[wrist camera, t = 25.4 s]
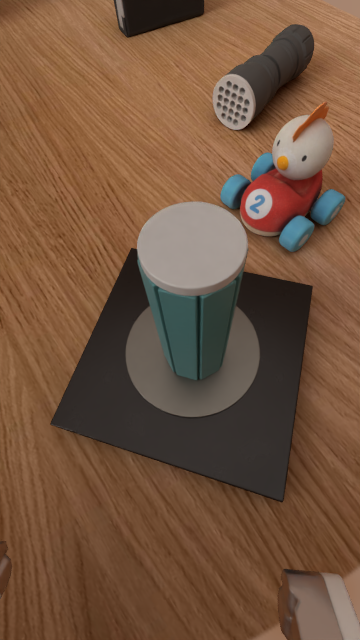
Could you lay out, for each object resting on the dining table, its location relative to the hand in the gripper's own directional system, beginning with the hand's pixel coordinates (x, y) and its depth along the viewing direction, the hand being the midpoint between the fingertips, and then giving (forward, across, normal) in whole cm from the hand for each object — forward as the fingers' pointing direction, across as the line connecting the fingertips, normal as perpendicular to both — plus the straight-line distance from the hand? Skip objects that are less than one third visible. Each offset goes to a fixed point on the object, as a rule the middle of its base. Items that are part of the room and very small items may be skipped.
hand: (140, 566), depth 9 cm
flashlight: (+42, -8, -24) cm, 48 cm away
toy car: (+28, -8, -10) cm, 31 cm away
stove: (+16, -1, +1) cm, 16 cm away
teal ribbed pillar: (+15, -1, 0) cm, 15 cm away
